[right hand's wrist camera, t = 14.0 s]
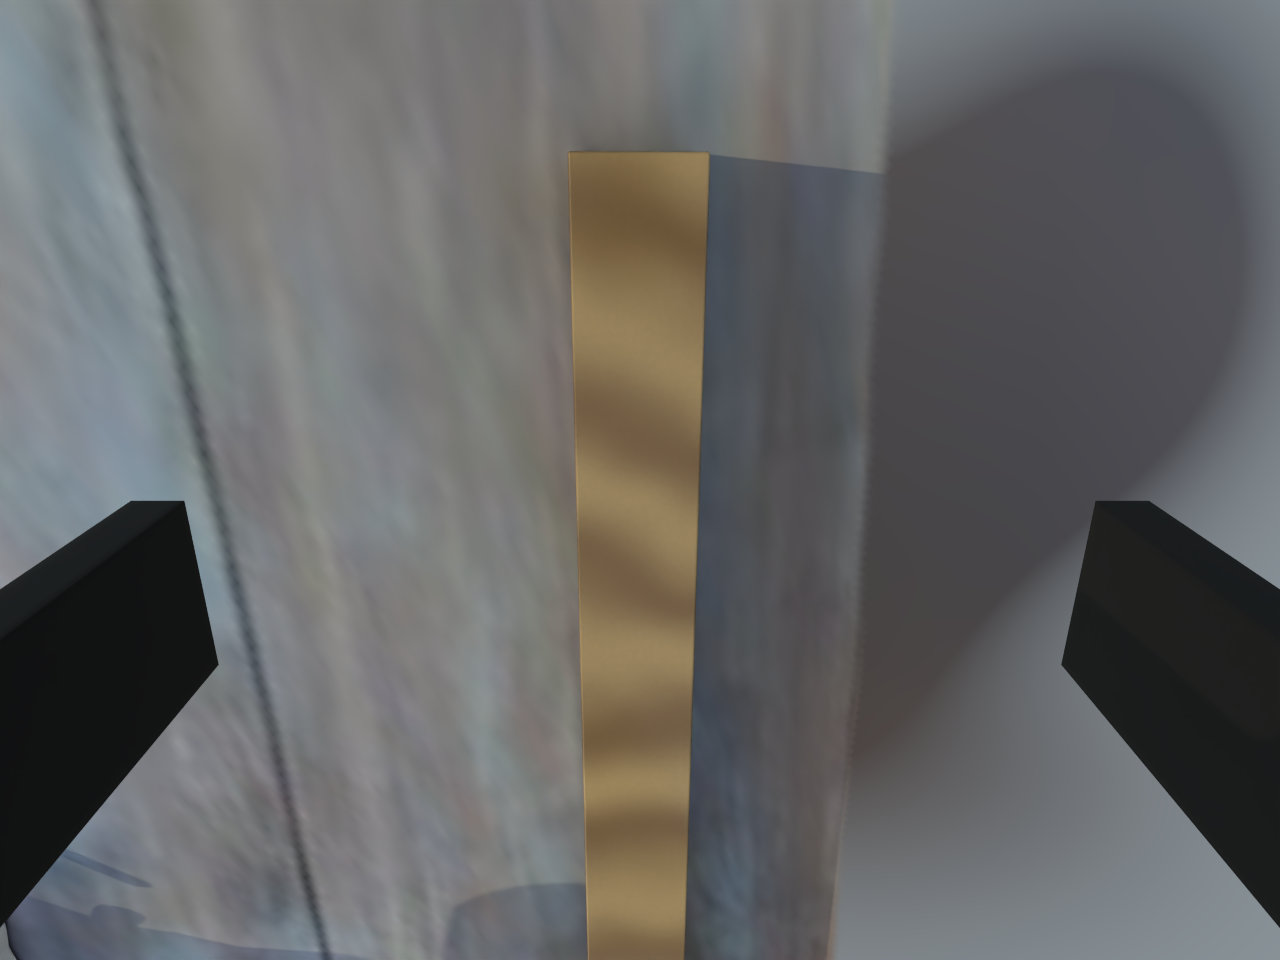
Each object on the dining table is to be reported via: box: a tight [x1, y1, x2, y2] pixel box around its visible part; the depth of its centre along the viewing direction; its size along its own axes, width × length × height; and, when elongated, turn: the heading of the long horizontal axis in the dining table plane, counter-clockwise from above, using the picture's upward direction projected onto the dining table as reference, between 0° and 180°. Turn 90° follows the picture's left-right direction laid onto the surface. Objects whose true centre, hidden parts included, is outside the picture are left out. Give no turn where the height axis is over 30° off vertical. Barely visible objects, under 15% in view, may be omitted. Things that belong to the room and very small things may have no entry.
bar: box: [568, 151, 710, 960], centre depth 46 cm, size 76×5×8 cm, turn 0°
